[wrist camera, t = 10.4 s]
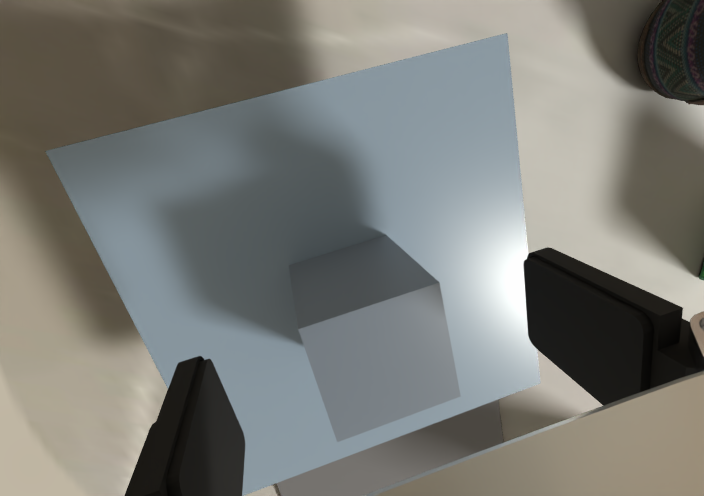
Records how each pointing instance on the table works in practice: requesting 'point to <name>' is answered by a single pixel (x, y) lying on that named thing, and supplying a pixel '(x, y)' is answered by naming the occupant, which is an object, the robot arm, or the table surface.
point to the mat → (402, 456)
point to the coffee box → (702, 273)
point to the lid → (326, 251)
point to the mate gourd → (674, 50)
